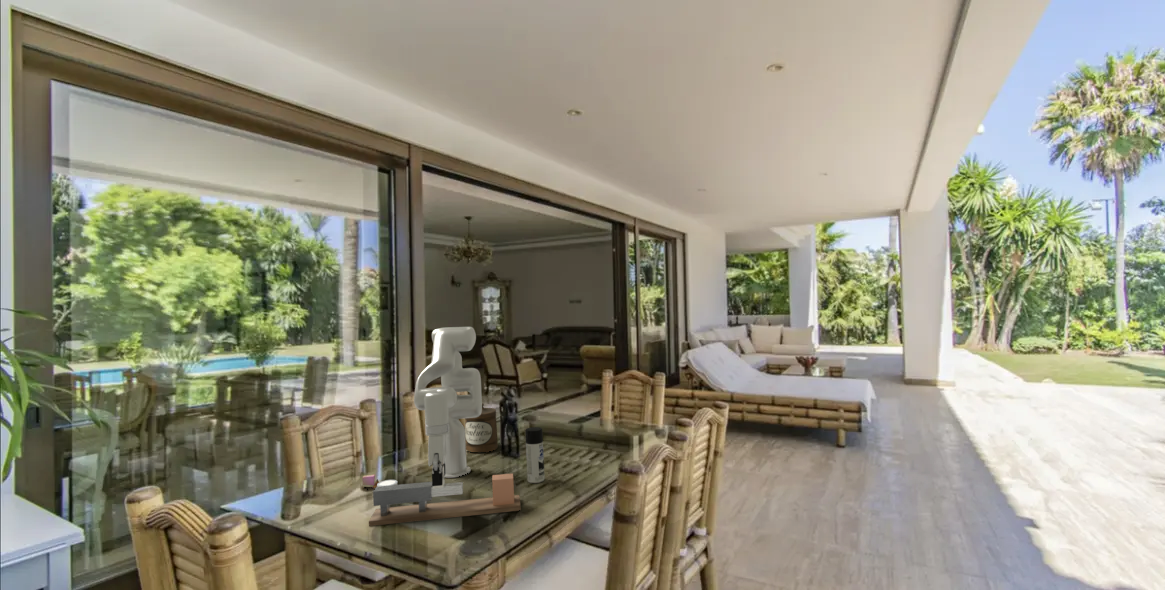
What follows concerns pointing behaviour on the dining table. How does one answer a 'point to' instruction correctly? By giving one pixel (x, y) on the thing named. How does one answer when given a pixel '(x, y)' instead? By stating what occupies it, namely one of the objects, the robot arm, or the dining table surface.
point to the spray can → (534, 455)
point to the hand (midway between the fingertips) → (439, 480)
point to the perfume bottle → (370, 480)
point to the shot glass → (387, 483)
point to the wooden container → (482, 431)
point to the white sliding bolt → (446, 488)
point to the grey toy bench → (402, 495)
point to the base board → (442, 511)
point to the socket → (503, 489)
